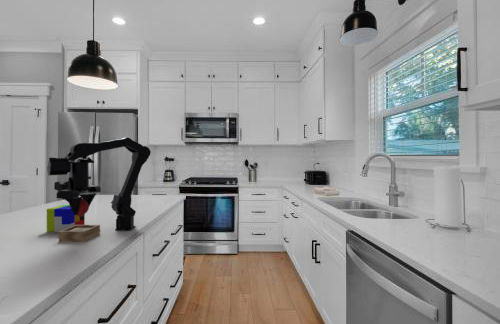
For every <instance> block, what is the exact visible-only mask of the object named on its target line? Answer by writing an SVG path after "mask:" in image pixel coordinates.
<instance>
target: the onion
mask: <svg viewBox="0 0 500 324" xmlns="http://www.w3.org/2000/svg"><path fill="white" fill-rule="evenodd" d="M89 209H90V206H89V205H88V203H87V202H86V201H85V200H83V199H81V203H80V207H79V210H78V213H77V214H76V215H77V216H79V217H81V216H83V215H84V214H85V215H86V214H87V213H88V211H89Z"/></svg>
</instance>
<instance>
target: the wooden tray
mask: <svg viewBox="0 0 500 324" xmlns="http://www.w3.org/2000/svg"><path fill="white" fill-rule="evenodd" d="M100 234H101V225H100V224H85V225H75V226H72V227H69V228H67V229H64V230H61V231H59V232H58V242H87V241H88V240H91V239H93V238H94V237H95V238H96V236H98V235H100Z"/></svg>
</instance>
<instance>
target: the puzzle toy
mask: <svg viewBox="0 0 500 324" xmlns="http://www.w3.org/2000/svg"><path fill="white" fill-rule="evenodd" d="M85 215H86V213H85V214H84V215H83V216H81V217H79V216H77V215H74V213H73V211H72V209H71V206H70V204H62V205H57V206H54V207H50V208H46V232H48V233H52V232H54V233H57V232H58V233H59V231H61V230H64V229H67V228H69V227H72V226H75V225H86V223H85V219H86V218H85V217H86V216H85Z"/></svg>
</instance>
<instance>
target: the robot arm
mask: <svg viewBox="0 0 500 324" xmlns="http://www.w3.org/2000/svg"><path fill="white" fill-rule="evenodd" d="M119 148H125V149H126V150H127V151H129V152H130V153H132V155H131V165H130V167H129V170H128V172H127V175H126V177H125V180H124V183H123V185H122V188H121V190H120V192H119V193H118V194H113V199H112V200H111V202H110V203H111V208H112V210H113V212H115V214H116V219H115V229H114V231H131V230H133V229H134V228H135V227H136V225H134V224H135V221H134V220H135V215H136V212H137V211H136V210H135V209H134V208H133V207H132V206H131V205H132V193H133V191H134V188H135V185H136V183H137V180H138V178H139V175H140V173H141V169H142V167H143V165H144V164H145V163H146V162H147V161H148V160H149V157H150V156H151V153H152V152H151V149H150V148H149V147H148V146H147V145H142V144H141V143H139V142H137V141H135V140H133V139H132V138H130V137H122V138H119V139H114V140H109V141H108V140H107V141H101V142H82V143H81V142H79V143H74V144H72V146H71V147H70V148H69V152H68V154H67V155H65V157H48V163H47V166H46V170H47V175H48V176H66V175H67V176H68V173H71V176H69V177H68V180H67V181H64V182H63V181H61V180H60V181H55V182H54V183H53V184H54V186H53V188H54V190H55V191H57V192H56V199H62V200H65V201H66V202H67V203H68V205H70V206H71V209H72V211H73V213H74V215H76V214H77V213H78V210H79V207H80V203H81V199H83V200H85V201H86V202H87V203H88V205H89V207H90V206H91V204H92V202H93V201H94V198H95V197H96V196H97V194H98V193H101V190H102V189H101V187H100V186H99V185H89V181H90V180H91V179H92V176H90V175H89V164H94V163H95V161H94V160H93V159H92V158H91V156H92V155H94V154H97V153H98V152H104V151H109V150H114V149H119ZM89 156H90V157H89Z"/></svg>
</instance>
